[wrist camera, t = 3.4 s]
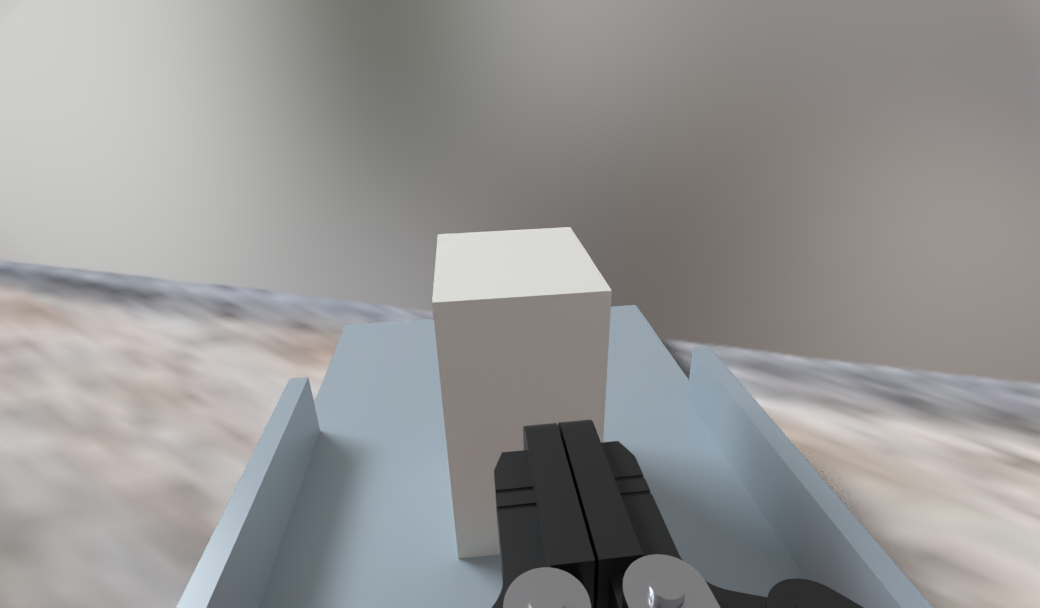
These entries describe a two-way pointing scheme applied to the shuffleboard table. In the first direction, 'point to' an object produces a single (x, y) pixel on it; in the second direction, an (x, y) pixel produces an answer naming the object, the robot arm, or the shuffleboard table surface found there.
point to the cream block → (513, 355)
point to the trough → (428, 498)
